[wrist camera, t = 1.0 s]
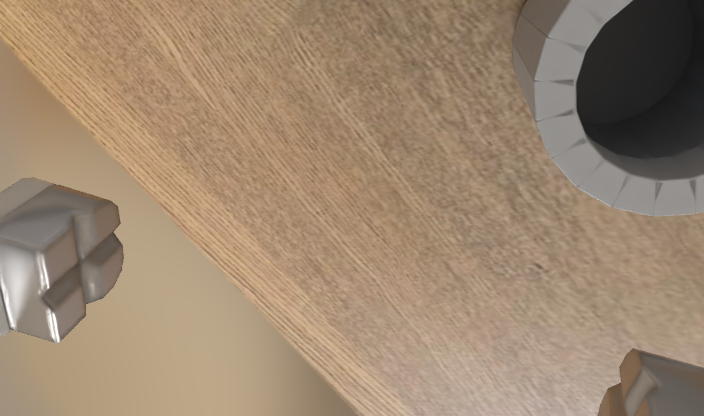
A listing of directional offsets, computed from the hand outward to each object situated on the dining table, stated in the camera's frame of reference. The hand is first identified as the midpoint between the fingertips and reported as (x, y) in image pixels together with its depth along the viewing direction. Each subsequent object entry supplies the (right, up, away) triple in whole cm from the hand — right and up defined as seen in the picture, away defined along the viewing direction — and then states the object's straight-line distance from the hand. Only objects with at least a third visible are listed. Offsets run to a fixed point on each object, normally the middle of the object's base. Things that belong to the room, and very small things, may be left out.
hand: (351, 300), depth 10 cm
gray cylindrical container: (+12, +9, +20) cm, 26 cm away
